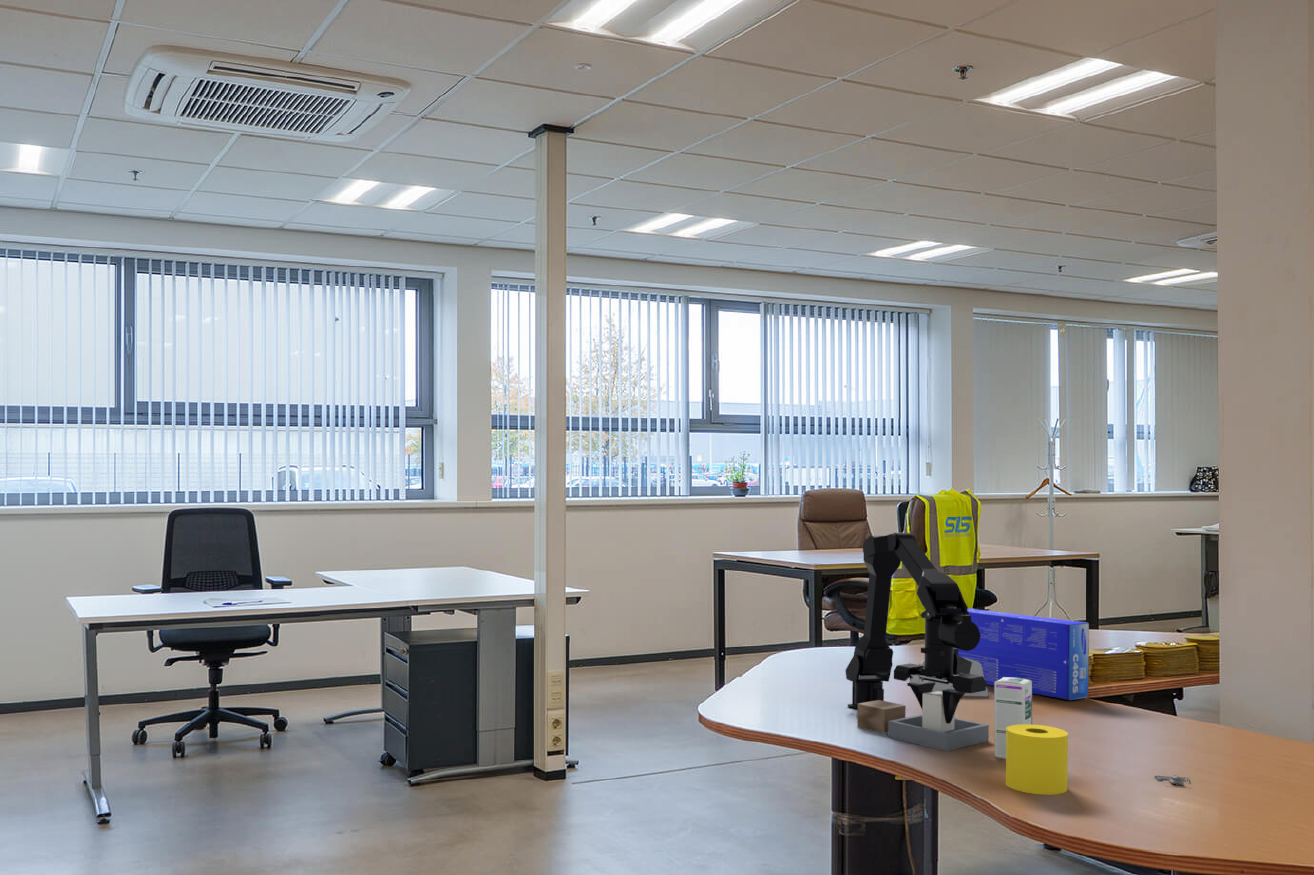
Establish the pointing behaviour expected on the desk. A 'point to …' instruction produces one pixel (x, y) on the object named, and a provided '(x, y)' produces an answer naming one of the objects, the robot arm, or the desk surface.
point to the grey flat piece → (1172, 779)
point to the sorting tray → (938, 733)
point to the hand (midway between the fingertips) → (938, 721)
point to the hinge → (975, 670)
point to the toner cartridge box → (1033, 652)
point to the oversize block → (878, 715)
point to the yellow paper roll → (1036, 759)
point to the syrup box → (1010, 708)
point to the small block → (935, 712)
